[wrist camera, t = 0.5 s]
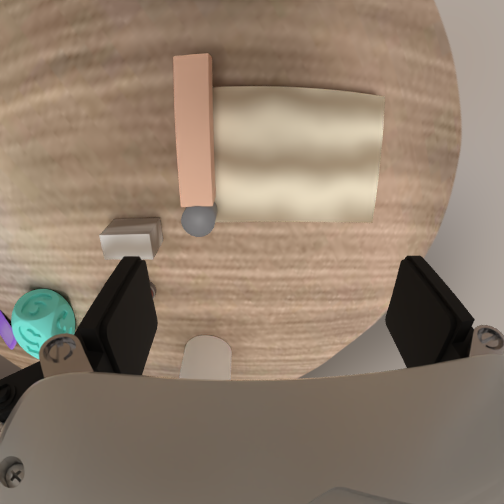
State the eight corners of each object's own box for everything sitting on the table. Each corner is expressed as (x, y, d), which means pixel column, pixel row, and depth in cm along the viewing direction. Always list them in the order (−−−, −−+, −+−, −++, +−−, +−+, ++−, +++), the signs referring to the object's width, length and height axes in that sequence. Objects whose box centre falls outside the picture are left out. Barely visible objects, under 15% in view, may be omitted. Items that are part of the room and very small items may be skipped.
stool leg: (218, 224, 33) (215, 236, 30) (188, 224, 33) (182, 237, 30) (213, 57, 25) (209, 53, 22) (179, 60, 25) (172, 56, 22)
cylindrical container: (204, 327, 43) (181, 498, 21) (241, 352, 46) (239, 512, 24) (176, 351, 46) (145, 503, 24) (211, 372, 48) (198, 518, 26)
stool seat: (100, 101, 28) (80, 103, 25) (375, 95, 29) (393, 97, 25) (118, 241, 37) (104, 259, 33) (361, 239, 37) (373, 257, 33)
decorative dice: (42, 323, 44) (21, 354, 37) (29, 284, 40) (4, 315, 33) (79, 331, 44) (61, 366, 37) (68, 291, 41) (44, 326, 33)
